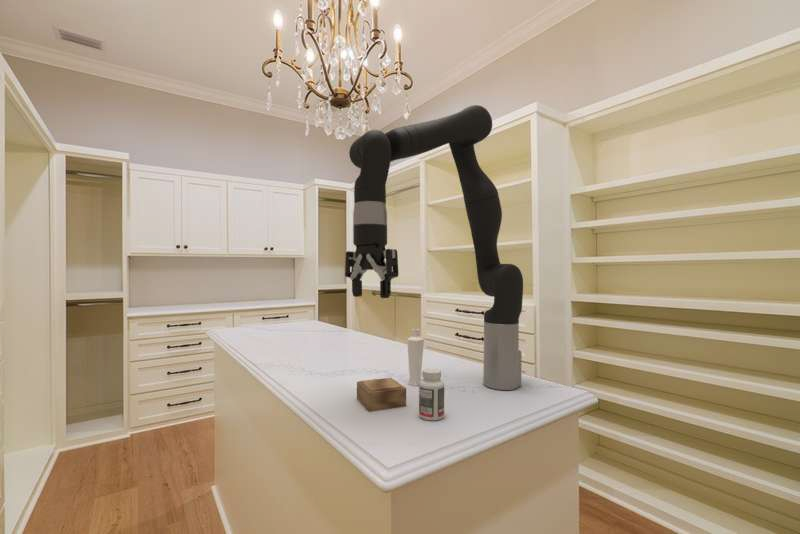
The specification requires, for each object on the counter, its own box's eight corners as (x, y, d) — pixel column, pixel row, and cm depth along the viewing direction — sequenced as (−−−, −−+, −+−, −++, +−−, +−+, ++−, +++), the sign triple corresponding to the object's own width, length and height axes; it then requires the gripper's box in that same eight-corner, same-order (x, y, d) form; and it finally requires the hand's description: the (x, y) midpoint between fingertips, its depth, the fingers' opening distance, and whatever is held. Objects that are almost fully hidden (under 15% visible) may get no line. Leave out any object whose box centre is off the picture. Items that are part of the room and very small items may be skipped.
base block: (391, 393, 92) (391, 376, 92) (406, 405, 84) (406, 387, 84) (356, 398, 88) (357, 380, 88) (368, 411, 80) (368, 391, 80)
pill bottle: (437, 410, 81) (437, 366, 82) (448, 419, 76) (449, 372, 76) (414, 413, 79) (415, 368, 80) (424, 422, 74) (425, 374, 75)
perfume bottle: (422, 386, 98) (422, 330, 98) (406, 385, 99) (406, 330, 99) (424, 381, 103) (425, 328, 103) (409, 380, 104) (409, 327, 104)
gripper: (405, 223, 80) (406, 297, 79) (360, 228, 89) (360, 295, 89) (382, 219, 74) (382, 299, 74) (336, 225, 83) (336, 297, 83)
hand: (370, 297), depth 81 cm, fingers open, 8 cm apart
